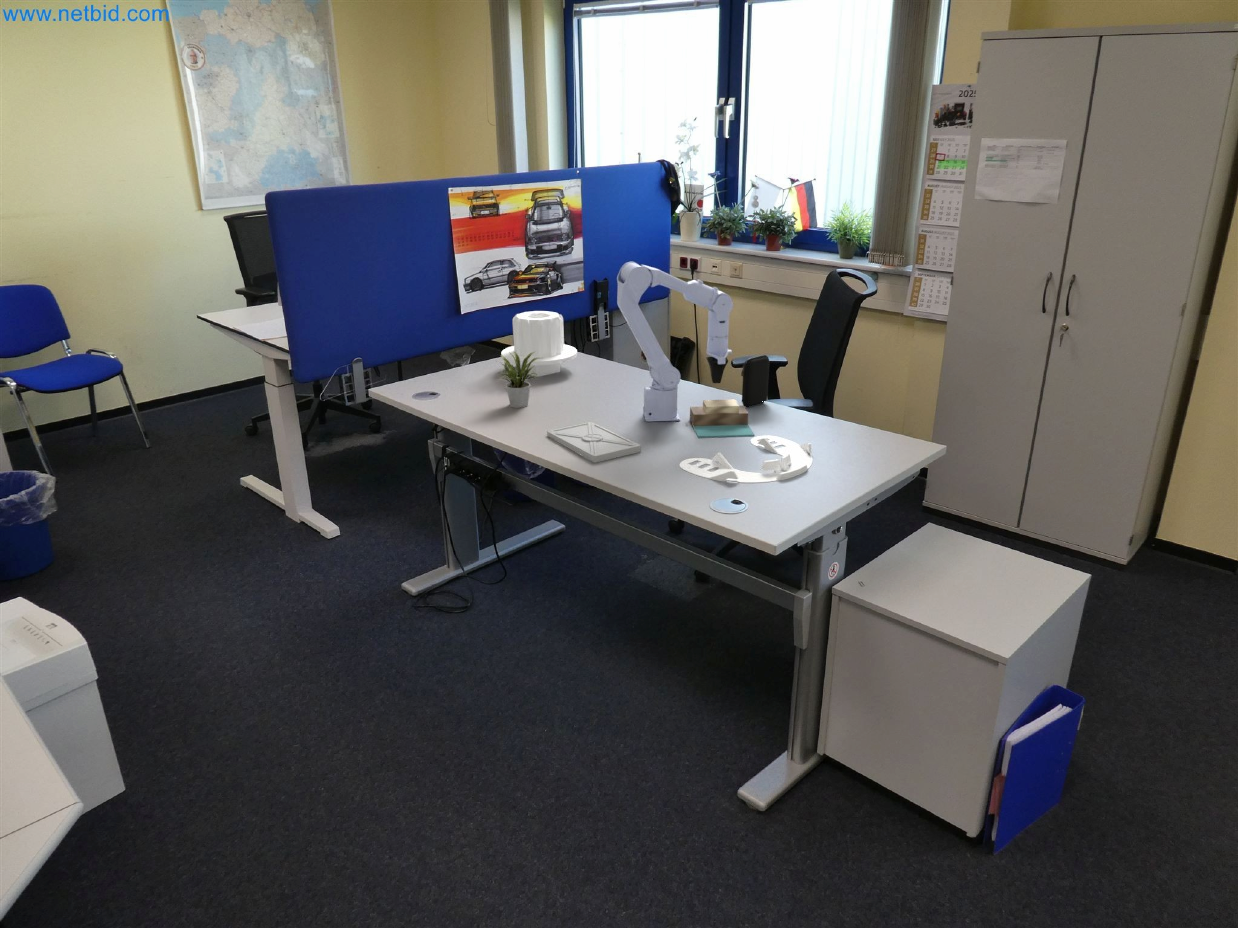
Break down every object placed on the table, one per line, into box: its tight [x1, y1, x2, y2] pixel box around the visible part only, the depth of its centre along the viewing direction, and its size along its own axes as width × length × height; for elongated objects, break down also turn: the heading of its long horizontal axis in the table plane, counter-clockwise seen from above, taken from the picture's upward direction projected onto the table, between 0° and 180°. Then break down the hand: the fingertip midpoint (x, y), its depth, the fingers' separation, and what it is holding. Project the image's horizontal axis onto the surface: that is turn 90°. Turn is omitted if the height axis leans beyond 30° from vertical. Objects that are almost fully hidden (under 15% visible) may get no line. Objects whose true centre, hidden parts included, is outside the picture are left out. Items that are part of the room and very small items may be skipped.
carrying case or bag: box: [740, 354, 770, 409], centre depth 248 cm, size 11×3×15 cm, turn 128°
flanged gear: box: [500, 310, 578, 378], centre depth 283 cm, size 25×25×19 cm
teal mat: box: [693, 424, 755, 438], centre depth 230 cm, size 15×8×1 cm, turn 94°
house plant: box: [496, 351, 540, 409], centre depth 250 cm, size 14×14×16 cm
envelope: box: [546, 421, 642, 464], centre depth 222 cm, size 24×2×14 cm
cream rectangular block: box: [702, 398, 740, 414], centre depth 236 cm, size 9×6×2 cm, turn 94°
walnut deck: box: [689, 404, 749, 428], centre depth 237 cm, size 15×7×4 cm, turn 94°
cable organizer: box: [679, 434, 813, 484], centre depth 209 cm, size 35×24×3 cm
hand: (716, 382), depth 242 cm, fingers closed
